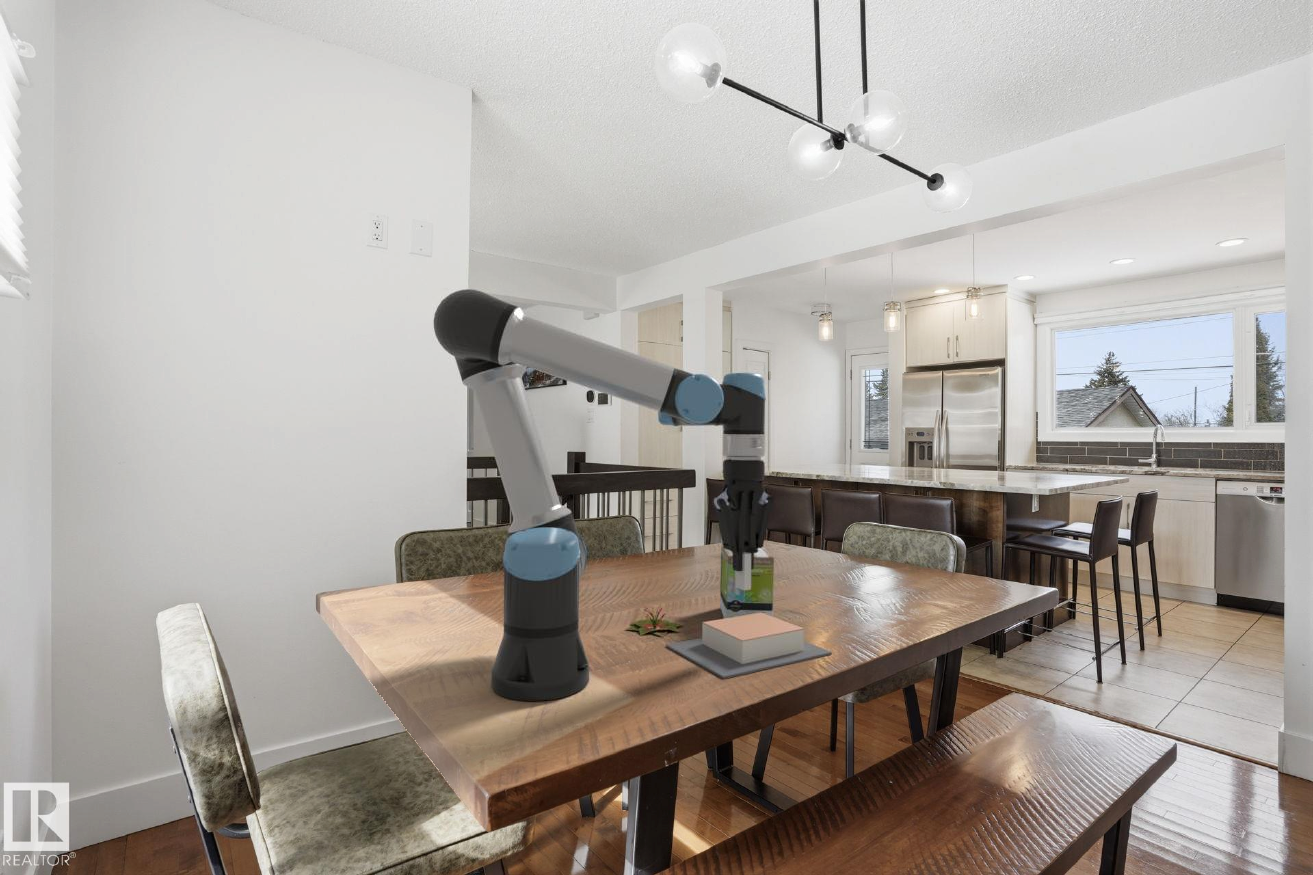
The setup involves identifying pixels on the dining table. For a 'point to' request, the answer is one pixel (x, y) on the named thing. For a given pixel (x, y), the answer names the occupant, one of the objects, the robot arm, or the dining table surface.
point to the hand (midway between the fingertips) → (743, 588)
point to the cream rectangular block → (752, 637)
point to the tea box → (747, 600)
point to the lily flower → (654, 624)
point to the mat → (732, 668)
